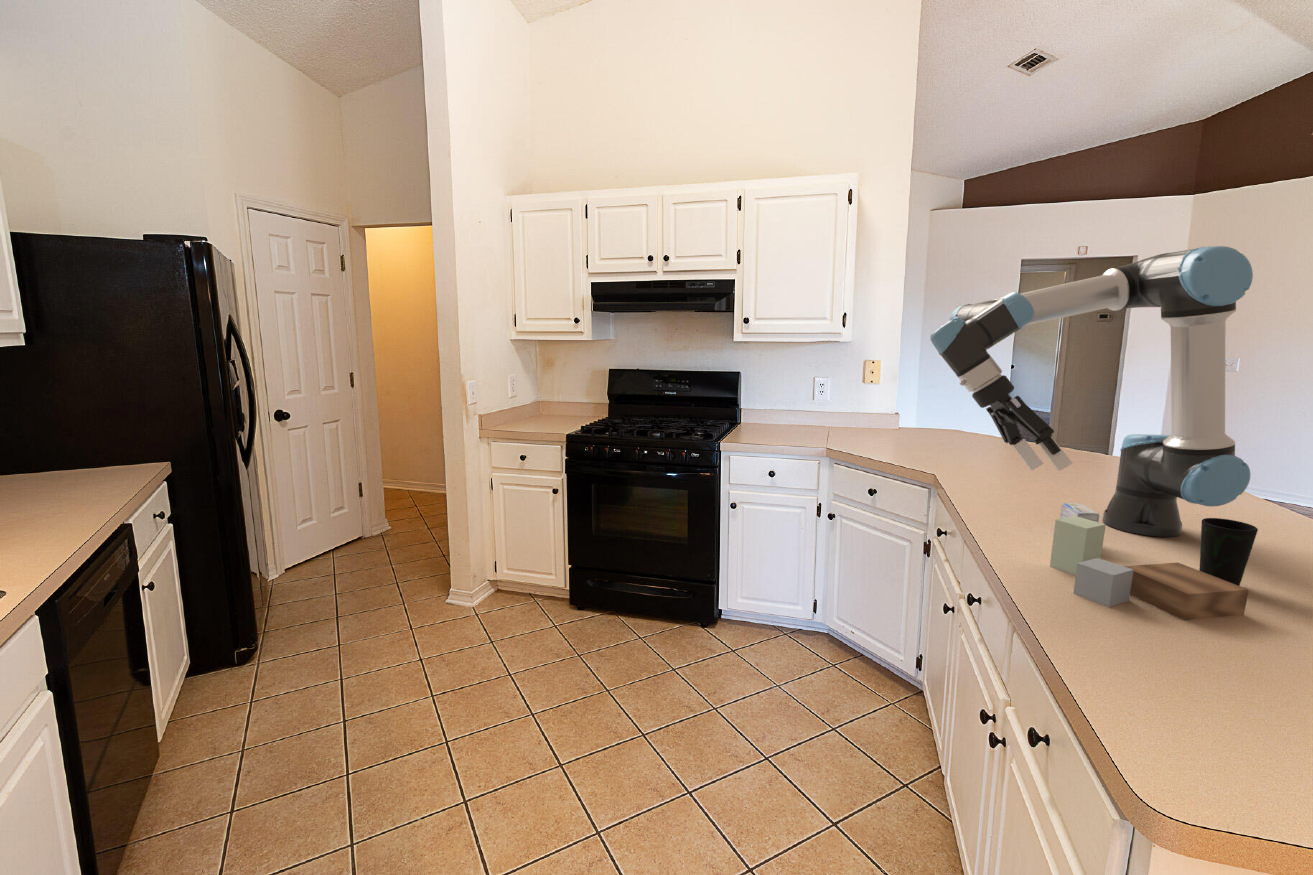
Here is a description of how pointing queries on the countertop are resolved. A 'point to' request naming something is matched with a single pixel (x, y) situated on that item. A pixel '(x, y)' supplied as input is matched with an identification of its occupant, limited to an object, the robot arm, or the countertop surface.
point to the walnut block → (1187, 591)
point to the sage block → (1076, 542)
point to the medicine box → (1078, 511)
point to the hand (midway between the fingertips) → (1050, 467)
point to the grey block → (1103, 582)
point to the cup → (1226, 548)
